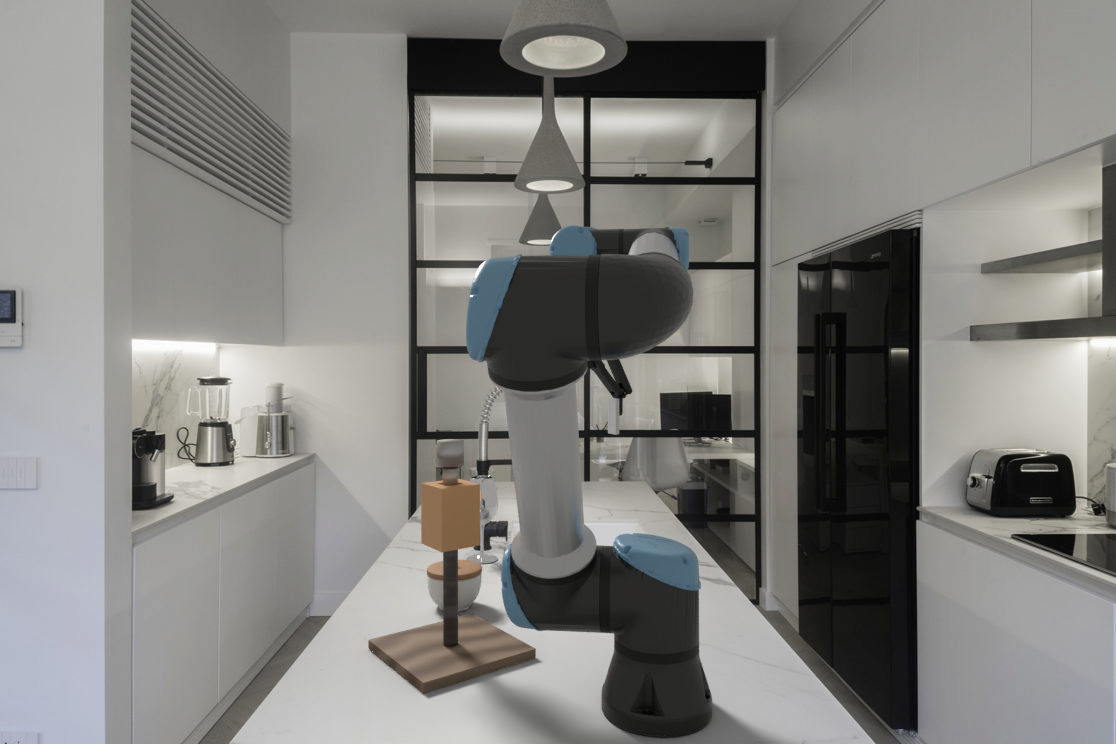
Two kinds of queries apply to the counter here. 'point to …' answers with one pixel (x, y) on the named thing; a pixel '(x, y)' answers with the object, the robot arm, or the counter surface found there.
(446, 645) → the stand
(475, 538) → the sleeve
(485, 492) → the wineglass
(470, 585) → the lidded jar
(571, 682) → the counter surface
